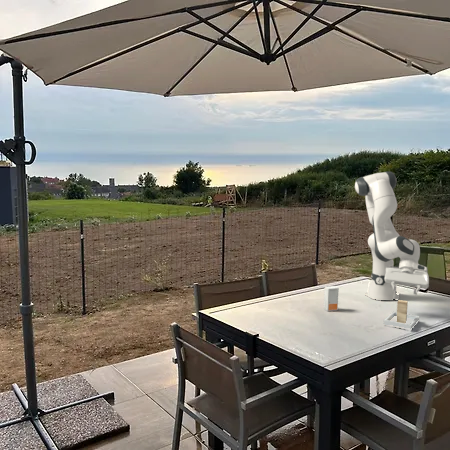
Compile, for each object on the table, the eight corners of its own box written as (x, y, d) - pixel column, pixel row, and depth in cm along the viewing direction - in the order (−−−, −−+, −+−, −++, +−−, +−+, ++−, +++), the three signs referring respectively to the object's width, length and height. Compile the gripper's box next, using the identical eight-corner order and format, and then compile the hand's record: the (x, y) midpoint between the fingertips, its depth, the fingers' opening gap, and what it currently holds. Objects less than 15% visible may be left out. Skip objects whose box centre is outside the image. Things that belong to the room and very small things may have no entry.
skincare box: (327, 311, 214) (328, 288, 213) (323, 309, 219) (324, 286, 217) (338, 310, 216) (338, 287, 215) (333, 308, 220) (334, 285, 219)
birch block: (397, 320, 199) (398, 299, 198) (406, 321, 197) (407, 301, 196) (396, 322, 196) (397, 301, 195) (405, 324, 194) (406, 303, 193)
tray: (393, 317, 206) (393, 311, 206) (419, 322, 199) (419, 316, 199) (383, 325, 194) (383, 319, 193) (410, 331, 187) (411, 325, 186)
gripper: (386, 262, 213) (381, 285, 206) (430, 268, 204) (427, 292, 196) (386, 269, 218) (382, 291, 210) (429, 275, 208) (427, 299, 201)
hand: (404, 292), depth 203 cm, fingers open, 8 cm apart
